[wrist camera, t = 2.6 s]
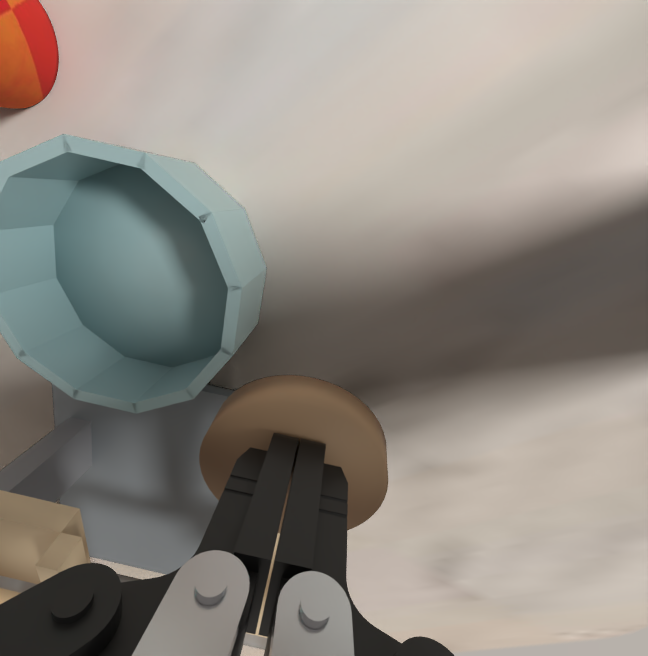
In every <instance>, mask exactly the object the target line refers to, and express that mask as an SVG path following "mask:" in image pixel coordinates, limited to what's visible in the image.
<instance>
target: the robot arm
mask: <svg viewBox="0 0 648 656" xmlns="http://www.w3.org/2000/svg"><path fill="white" fill-rule="evenodd" d="M298 439H299V438H297V437H292V436H288V435H283V434H278V433H273V436H272V439H271V442H270V445H269V448H268V451H265V450H261V449H256V448H252V447H250V448H249V449H248V450H247V451H246V452H244V453H243V454H242V455H241V456H240V457H239V458H238V459H237V460H236V463H235V465H234V467H233V470H232V472H231V474H230V478H229V479H228V481H227V483H226V486H225V488H224V491H223V493H222V495H221V497H220V500H219V502H218V504H217V506H216V509H215V511H214V513H213V516H212V518H211V520H210V523H209V525H208V527H207V529H206V532H205V534H204V536H203V539H202V541H201V543H200V545H199V547H198V549H197V551H196V552H195V554H194V555H193V556H192V557H191V558H190V559H189V560H188V561H187V562H186V563H185V564H184V565H183V566H182V567H180V568H178V569H177V570H175V571H173V572H171V573H169V574H167V575H164V576H161V577H157V578H152V579H144V580H136V581H128V582H120V579H119V576H118V575H117V574H116V572H115V571H114V570H113V569H111V568H110V567H108V566H106V565H102V564H98V563H86V564H80V565H76V566H73V567H70V568H68V569H66V570H64V571H61V572H59V573H58V574H56V575H54V576H52V577H50V578H48V579H46V580H45V581H43V582H41V583H39V584H37V585H35V586H33V587H31V588H30V589H28V590H26V591H24V592H22V593H20V594H18V595H17V596H15V597H13V598H11V599H9V600H7V601H5V602H4V603H2V604H0V656H240V654H241V650H242V646H243V642H244V638H245V634H246V632H247V633H251V634H255V633H256V629H257V624H258V620H259V615H260V611H261V606H262V602H263V597H264V593H265V588H266V584H267V579H268V575H269V570H270V566H271V561H272V557H273V552H274V548H275V543H276V539H277V534H278V530H279V525H280V521H281V516H282V512H283V507H284V503H285V498H286V494H287V489H288V485H289V480H290V476H291V471H292V467H293V462H294V458H295V453H296V448H297V444H298ZM325 450H326V444H324V443H320V442H315V441H311V440H306V439H302V438H301V440H300V445H299V449H298V454H297V458H296V463H295V467H294V472H293V476H292V481H291V485H290V490H289V495H288V499H287V504H286V508H285V513H284V518H283V522H282V527H281V532H280V536H279V541H278V546H277V550H276V555H275V559H274V564H273V569H272V573H271V578H270V583H269V587H268V592H267V597H266V601H265V606H264V610H263V615H262V620H261V624H260V629H259V634H258V635H262V636H266V637H267V642H266V648H265V653H264V656H454V655H453V654H452V653H451V652H450V651H449V650H448V649H447V648H446V647H444V646H443V645H442V644H440V643H438V642H437V641H435V640H433V639H430V638H427V637H413V638H410V639H408V640H406V641H404V642H403V643H402V644H401V643H400V642H398V641H397V640H395V639H393V638H392V637H390V636H389V635H387V634H385V633H384V632H382V631H381V630H379V629H377V628H376V627H374V626H373V625H372V624H370V623H369V622H368V621H367V620H366V619H365V618H364V617H363V616H362V615H361V614H360V613H359V611H358V610H357V608H356V607H355V605H354V604H353V602H352V600H351V598H350V595H349V592H348V588H347V582H346V561H347V514H348V504H347V502H348V482H347V479H346V477H345V475H344V473H343V470H342V468H341V467H338V466H334V465H329V464H325V463H324V459H325Z"/></svg>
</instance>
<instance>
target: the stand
mask: <svg viewBox="0 0 648 656" xmlns="http://www.w3.org/2000/svg"><path fill="white" fill-rule="evenodd" d="M52 392H53V408H54V423H55V429H54V430H53V431H51V432H50V433H49V434H47V435H46V436H45V437H43V438H42V439H41V440H40V441H38V442H37V443H36V444H34V445H33V446H32V447H31V448H29V449H28V450H27V451H25V452H24V453H23V454H21V455H20V456H19V457H18V458H16V459H15V460H14V461H12V462H11V463H10V464H9V465H7V466H6V467H5V468H3V469H2V470H1V471H0V490H2V491H7V492H11V493H15V494H19V495H24V496H28V497H32V498H37V499H41V500H45V501H50V502H54V503H55V502H56V501H57V500H58V499H59V500H60V504H62V505H67V506H71V507H75V508H80V512H81V517H82V522H83V527H84V532H85V537H86V542H87V547H88V552H89V556H90V557H94V558H98V559H102V560H107V561H111V562H115V563H120V564H124V565H128V566H132V567H137V568H141V569H145V570H150V571H154V572H158V573H162V574H169V573H171V572H173V571H175V570H177V569H178V568H180V567H182V566H183V565H184V564H185V563H186V562H187V561H188V560H189V559H190V558H191V557H192V556H193V555H194V554H195V552H196V551H197V549H198V547H199V545H200V543H201V541H202V539H203V536H204V534H205V532H206V529H207V527H208V525H209V523H210V520H211V518H212V516H213V513H214V511H215V509H216V506H217V504H218V502H219V500H218V499H217V498H216V497H215V496H214V495H213V493H212V492H211V491H210V489H209V488H208V486H207V484H206V482H205V481H204V478H203V475H202V473H201V469H200V464H199V453H200V447H201V444H202V441H203V438H204V436H205V435H206V433H207V431H208V429H209V427H210V426H211V424H212V422H213V420H214V418H215V417H216V415H217V413H218V411H219V409H220V408H221V406H222V404H223V403H224V402H225V400H226V399H227V398H228V397H229V396H230V395H231V394H232V393H233V392H235V391H233V390H229V389H225V388H220V387H216V386H212V385H206V386H205V387H204V388H203V389H202V390H201V391H200V392H199V394H198V395H197V396H196V397H195V398H194V399H191V400H188V401H184V402H180V403H176V404H172V405H168V406H164V407H160V408H156V409H153V410H149V411H145V412H141V413H137V414H136V413H132V412H128V411H123V410H119V409H115V408H110V407H106V406H102V405H97V404H93V403H89V402H84V401H80V400H76V399H73V398H72V397H70V396H69V395H68V394H66V393H65V392H63V391H62V390H61V389H59V388H58V387H56V386H55V385H54V384H52Z"/></svg>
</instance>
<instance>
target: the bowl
mask: <svg viewBox="0 0 648 656" xmlns="http://www.w3.org/2000/svg"><path fill="white" fill-rule="evenodd" d="M266 270H267V267H266V265H265V262H264V259H263V257H262V254H261V251H260V248H259V246H258V243H257V240H256V238H255V235H254V232H253V230H252V227H251V224H250V222H249V219H248V216H247V214H246V211H245V208H244V207H242V206H241V205H240V204H239V203H238V202H237V201H236V200H235V199H234V198H233V197H231V196H230V195H229V194H228V193H227V192H226V191H225V190H224V189H223V188H222V187H220V186H219V185H218V184H217V183H216V182H215V181H214V180H213V179H212V178H211V177H209V176H208V175H207V174H206V173H205V172H204V171H203V170H202V169H201V168H200V167H198V166H197V165H196V164H195V163H193V162H188V161H184V160H179V159H175V158H171V157H166V156H162V155H157V154H153V153H149V152H144V151H140V150H136V149H132V148H127V147H123V146H118V145H113V144H108V143H104V142H99V141H94V140H90V139H85V138H80V137H76V136H71V135H66V134H62V135H60V136H57V137H55V138H53V139H51V140H48V141H46V142H44V143H42V144H39V145H37V146H35V147H32V148H30V149H28V150H26V151H23V152H21V153H19V154H16V155H14V156H12V157H10V158H7V159H5V160H3V161H0V333H1V334H2V336H3V337H4V339H5V340H6V342H7V344H8V345H9V347H10V348H11V350H12V351H13V353H14V354H15V356H16V358H17V359H19V360H20V361H22V362H23V363H24V364H26V365H27V366H29V367H30V368H31V369H33V370H34V371H36V372H37V373H38V374H40V375H41V376H42V377H44V378H45V379H47V380H48V381H49V382H51V383H52V384H54V385H55V386H56V387H58V388H59V389H61V390H62V391H63V392H65V393H66V394H68V395H69V396H70V397H72V398H73V399H76V400H80V401H84V402H89V403H93V404H97V405H102V406H106V407H110V408H115V409H119V410H123V411H128V412H132V413H136V414H137V413H141V412H145V411H149V410H153V409H156V408H160V407H164V406H168V405H172V404H176V403H180V402H184V401H188V400H191V399H194V398H195V397H196V396H197V395H198V394H199V392H200V391H201V390H202V389H203V388H204V387H205V386H206V385H207V384H208V382H209V381H210V380H211V379H212V378H213V377H214V376H215V375H216V374H217V372H218V371H219V370H220V369H221V368H222V367H223V366H224V365H225V364H226V362H227V361H228V360H229V359H230V358H231V357H232V356H233V355H234V354H235V352H236V351H237V350H238V348H239V347H240V346H241V344H242V343H243V342H244V341H245V339H246V338H247V337H248V335H249V334H250V333H251V332H252V330H253V329H254V328H255V326H256V325H257V324H258V321H259V314H260V308H261V302H262V295H263V289H264V283H265V276H266Z"/></svg>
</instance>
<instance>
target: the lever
mask: <svg viewBox="0 0 648 656" xmlns="http://www.w3.org/2000/svg"><path fill="white" fill-rule="evenodd" d="M273 433H278V434H283V435H288V436H292V437H297V438H299V439H298V444H297V448H296V453H295V458H294V462H293V467H292V471H291V476H290V480H289V485H288V489H287V494H286V498H285V503H284V507H283V512H282V516H281V521H280V525H279V530H278V534H277V539H276V543H275V548H274V552H273V557H272V561H271V566H270V570H269V575H268V579H267V584H266V588H265V593H264V597H263V602H262V606H261V611H260V615H259V620H258V624H257V629H256V633H255V634H251V633H247V632H246V634H245V638H244V642H243V645H246V646H250V647H255V648H259V649H263V650H265V648H266V642H267V637H266V636H262V635H258V634H259V629H260V624H261V620H262V615H263V610H264V606H265V601H266V597H267V592H268V587H269V583H270V578H271V573H272V569H273V564H274V559H275V555H276V550H277V546H278V541H279V536H280V532H281V527H282V522H283V518H284V513H285V508H286V504H287V499H288V495H289V490H290V485H291V481H292V476H293V472H294V467H295V463H296V458H297V454H298V449H299V445H300V440H301V438H302V439H306V440H311V441H315V442H320V443H324V444H326V450H325V459H324V463H325V464H329V465H334V466H338V467H341V468H342V470H343V473H344V475H345V477H346V479H347V482H348V502H347V504H348V514H347V530H349V529H352V528H354V527H356V526H358V525H360V524H362V523H363V522H365V521H366V520H367V519H369V518H370V517H371V516H372V515H373V514H374V513H375V512H376V511H377V510H378V508H379V507H380V506H381V504H382V502H383V500H384V498H385V495H386V492H387V487H388V470H387V452H386V440H385V436H384V432H383V430H382V427H381V425H380V423H379V421H378V420H377V418H376V417H375V415H374V414H373V413H372V411H371V410H370V409H369V408H368V407H367V406H366V405H365V404H364V403H363V402H362V401H361V400H360V399H358V398H357V397H355V396H354V395H353V394H351V393H350V392H348V391H346V390H344V389H343V388H341V387H339V386H337V385H334V384H332V383H329V382H327V381H323V380H320V379H316V378H312V377H306V376H298V375H277V376H271V377H265V378H261V379H258V380H255V381H252V382H250V383H248V384H245V385H244V386H242V387H240V388H239V389H237V390H236V391H235V392H233V393H232V394H231V395H230V396H229V397H228V398H227V399H226V400H225V402H224V403H223V404H222V406H221V408H220V409H219V411H218V413H217V415H216V417H215V418H214V420H213V422H212V424H211V426H210V427H209V429H208V431H207V433H206V435H205V436H204V438H203V441H202V444H201V447H200V453H199V464H200V469H201V473H202V475H203V478H204V481H205V482H206V484H207V486H208V488H209V489H210V491H211V492H212V493H213V495H214V496H215V497H216V498H217V499H218V500H220V497H221V495H222V493H223V491H224V488H225V486H226V483H227V481H228V479H229V478H230V474H231V472H232V470H233V467H234V465H235V463H236V460H237V459H238V458H239V457H240V456H241V455H242V454H243V453H244V452H246V451H247V450H248V449H249V448H250V447H252V448H256V449H261V450H265V451H268V448H269V445H270V442H271V439H272V436H273ZM86 563H91V562H90V557H89V552H88V547H87V542H86V537H85V532H84V527H83V522H82V517H81V512H80V508H75V507H71V506H67V505H62V504H58V503H54V502H50V501H45V500H41V499H37V498H32V497H28V496H24V495H19V494H15V493H11V492H7V491H2V490H0V604H2V603H4V602H5V601H7V600H9V599H11V598H13V597H15V596H17V595H18V594H20V593H22V592H24V591H26V590H28V589H30V588H31V587H33V586H35V585H37V584H39V583H41V582H43V581H45V580H46V579H48V578H50V577H52V576H54V575H56V574H58V573H59V572H61V571H64V570H66V569H68V568H70V567H73V566H76V565H80V564H86ZM117 575H118V576H119V579H120V582H128V581H136V580H141V579H137V578H133V577H128V576H124V575H120V574H117Z"/></svg>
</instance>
